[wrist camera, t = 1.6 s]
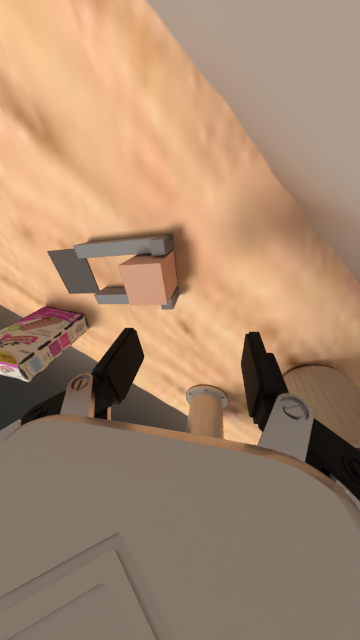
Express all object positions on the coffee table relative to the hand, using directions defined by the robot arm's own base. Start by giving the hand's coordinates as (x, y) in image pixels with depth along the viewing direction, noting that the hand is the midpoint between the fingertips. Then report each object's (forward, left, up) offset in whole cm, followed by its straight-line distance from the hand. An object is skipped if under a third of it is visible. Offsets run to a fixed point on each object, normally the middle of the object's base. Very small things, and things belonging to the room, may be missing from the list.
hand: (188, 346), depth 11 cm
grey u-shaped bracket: (0, +13, -20) cm, 24 cm away
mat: (0, +27, -20) cm, 33 cm away
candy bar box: (-11, +35, -20) cm, 42 cm away
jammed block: (0, +8, -20) cm, 22 cm away
